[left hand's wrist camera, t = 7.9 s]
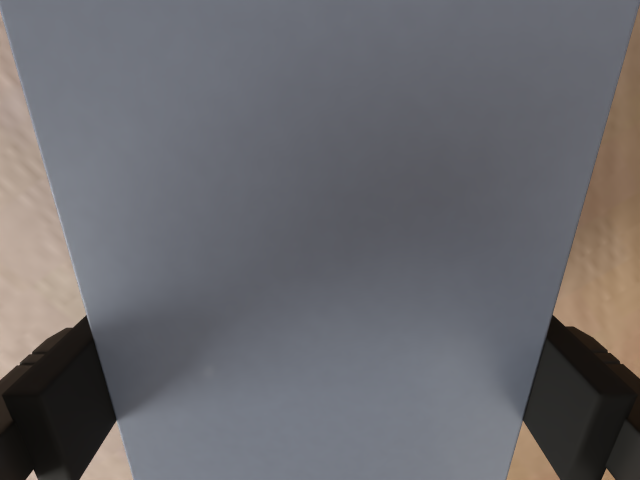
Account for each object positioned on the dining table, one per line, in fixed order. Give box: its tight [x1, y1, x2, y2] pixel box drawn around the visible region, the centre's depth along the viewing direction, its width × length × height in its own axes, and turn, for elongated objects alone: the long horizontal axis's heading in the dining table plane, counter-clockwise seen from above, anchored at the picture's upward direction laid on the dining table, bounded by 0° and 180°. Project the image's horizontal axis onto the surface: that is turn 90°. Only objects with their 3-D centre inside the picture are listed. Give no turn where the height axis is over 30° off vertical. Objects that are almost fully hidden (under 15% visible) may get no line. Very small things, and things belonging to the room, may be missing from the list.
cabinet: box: [0, 0, 640, 480], centre depth 11 cm, size 19×11×8 cm, turn 0°
